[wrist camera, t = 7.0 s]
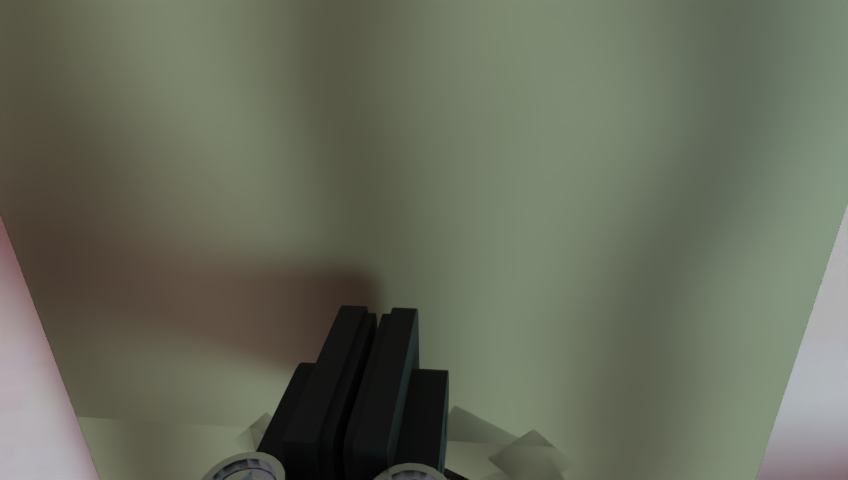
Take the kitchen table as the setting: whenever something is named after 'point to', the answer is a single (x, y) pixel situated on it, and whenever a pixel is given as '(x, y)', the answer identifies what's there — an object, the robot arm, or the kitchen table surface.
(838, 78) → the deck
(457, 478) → the kitchen table surface
